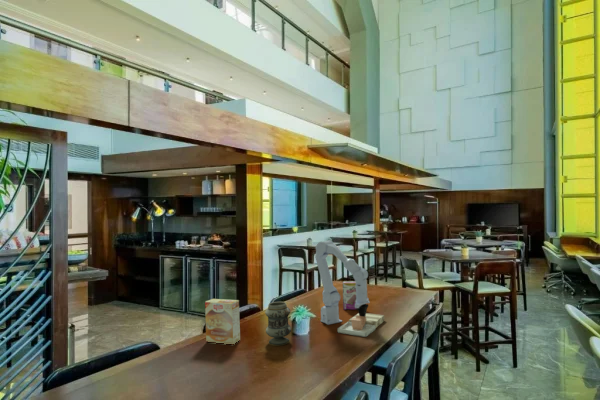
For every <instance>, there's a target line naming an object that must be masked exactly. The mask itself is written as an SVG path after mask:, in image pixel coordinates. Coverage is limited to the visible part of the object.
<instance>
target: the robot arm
mask: <svg viewBox="0 0 600 400" xmlns="http://www.w3.org/2000/svg"><path fill="white" fill-rule="evenodd" d="M329 254H330V255H333V256H335V257H336V258H337V259H338V260H339V261H341V263H343V265H344V268H345V269H346V270H347V271H348V272H349V273H350V274H351V275H352V276H353V277H352V278H353V279H354V281H356V304H355V308H357V312H358V313H359V316H364V317H365V316H366V313H367V312H368V311H367V310H368V308H369V304H370V303H371V302H370V300H369V297H368V283H367V279H368V277H369V273H368V271H367V269H366V268H365V267H364V268H363V267H362V266H361V265H359V264H358V263H357V262H356V260H355V259H352V258H349V257H348V256H346V255H345V253H344V252H342V250H341V249H340V248H339V247H338V246H337V244H336V243H334V242H333V241H332V240H330V239H327V240H324V241H323V240H322V241H318V242H317V243H316V246H315V261H316V265H317V268H318V272H319V275H320V279H321V282H322V286H323V287H322V288H323V291H322V293H321V294H322V302H323V304H324V306H322V307H320V322H322V323H324V324H326V325H328V326H329V325H333V324H338V323H342V322H343V320H342V319H340V311H339V302H340V300H341V294H340V293H339V292H338V289H337V287H335V286H334V283H333V280H332V275H331V272H330V269H329V266H328V262H327V257H328V255H329Z"/></svg>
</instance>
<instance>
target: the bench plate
mask: <svg viewBox="0 0 600 400" xmlns="http://www.w3.org/2000/svg"><path fill="white" fill-rule="evenodd" d="M356 316H359V312H358V313H357V314H355V315H354V316H353V317H350V319H348V322H351V319H352V318H356ZM365 317H366V319H367V320H366V323H365V324H370V325H375V329H376V328H378V327H379V326H380V325H381V324H383V322H385V315H384V314H377V313H370V312H369V313H367V312H366V316H365Z"/></svg>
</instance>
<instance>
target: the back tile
mask: <svg viewBox="0 0 600 400" xmlns="http://www.w3.org/2000/svg"><path fill="white" fill-rule="evenodd" d="M356 318H359V319H362V323H363V327H364V325H365V323H366V320H367V319H366V317H364V316H356Z"/></svg>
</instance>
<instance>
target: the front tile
mask: <svg viewBox="0 0 600 400" xmlns="http://www.w3.org/2000/svg"><path fill="white" fill-rule="evenodd" d="M351 318H352V317H351ZM351 318H350V319H351ZM351 322H352V329H358V330H362V329H363V323H362V319H359V318H352V319H351Z"/></svg>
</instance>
